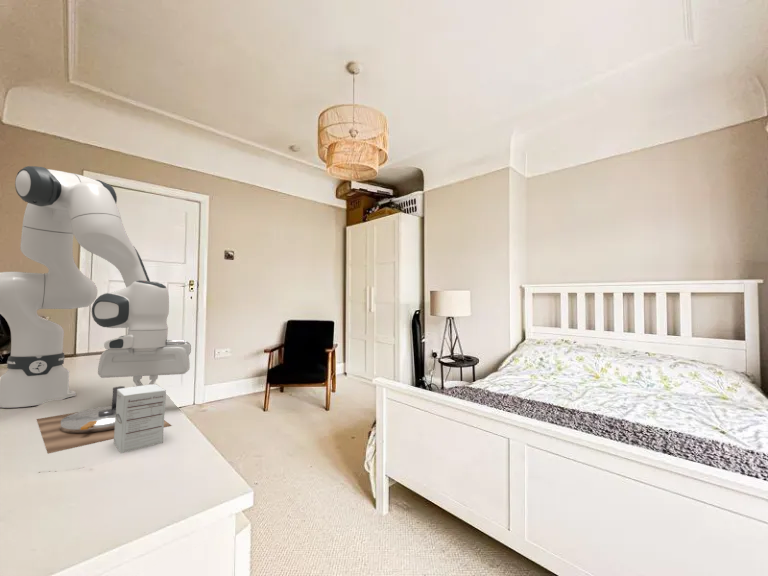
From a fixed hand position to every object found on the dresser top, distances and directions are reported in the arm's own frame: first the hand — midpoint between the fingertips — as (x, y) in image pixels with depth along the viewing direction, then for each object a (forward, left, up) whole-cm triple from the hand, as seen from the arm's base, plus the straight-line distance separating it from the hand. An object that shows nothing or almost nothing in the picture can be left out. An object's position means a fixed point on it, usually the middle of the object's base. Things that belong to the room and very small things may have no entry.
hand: (144, 392), depth 89 cm
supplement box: (+22, -6, -7) cm, 24 cm away
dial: (+3, -9, -5) cm, 11 cm away
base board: (+2, -9, -7) cm, 11 cm away
